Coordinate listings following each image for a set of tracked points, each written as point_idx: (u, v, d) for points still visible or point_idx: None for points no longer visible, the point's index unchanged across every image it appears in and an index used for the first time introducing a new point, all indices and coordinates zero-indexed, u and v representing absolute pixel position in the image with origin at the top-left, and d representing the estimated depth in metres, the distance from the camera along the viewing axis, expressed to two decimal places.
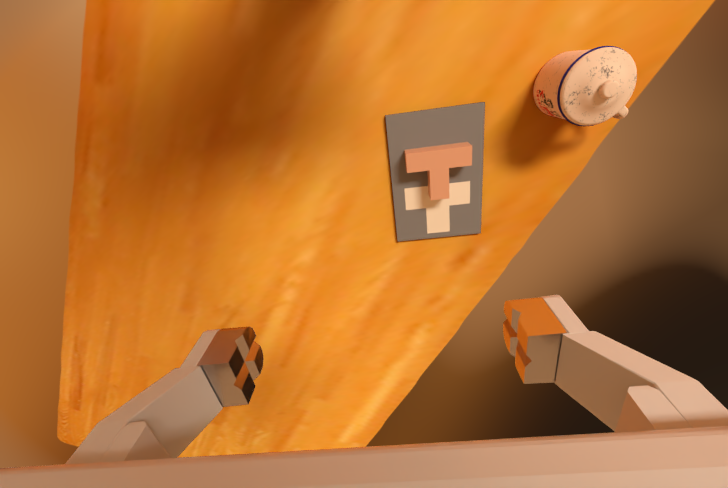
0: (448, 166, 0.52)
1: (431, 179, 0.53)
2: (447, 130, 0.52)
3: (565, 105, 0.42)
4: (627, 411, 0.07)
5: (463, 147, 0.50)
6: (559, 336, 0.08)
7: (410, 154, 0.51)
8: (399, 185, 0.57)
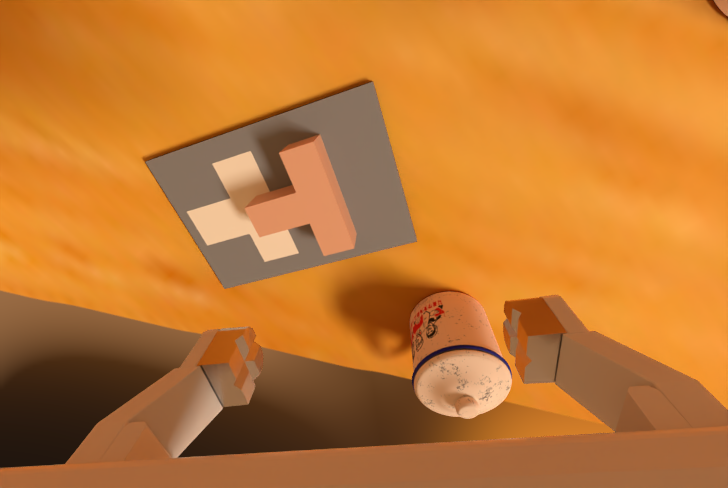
0: (312, 222, 0.29)
1: (281, 200, 0.29)
2: (367, 199, 0.31)
3: (438, 363, 0.29)
4: (627, 411, 0.07)
5: (348, 236, 0.30)
6: (559, 336, 0.08)
7: (314, 151, 0.26)
8: (252, 139, 0.29)
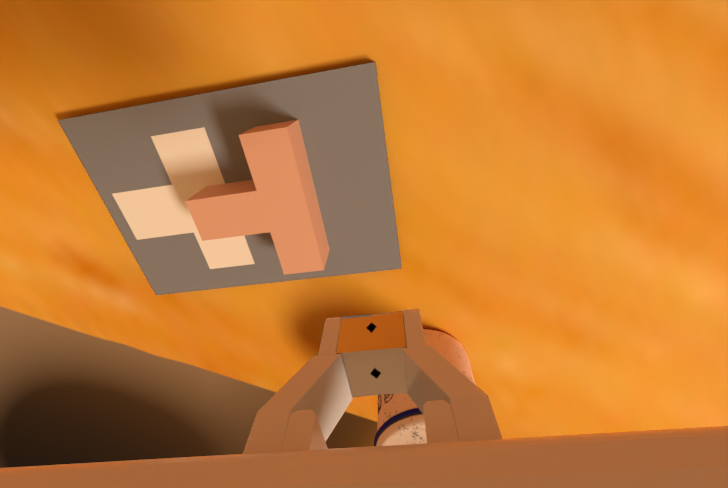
0: (273, 230, 0.23)
1: (236, 197, 0.22)
2: (347, 210, 0.25)
3: (410, 426, 0.23)
4: None
5: (318, 254, 0.24)
6: (400, 350, 0.09)
7: (287, 139, 0.20)
8: (208, 112, 0.22)
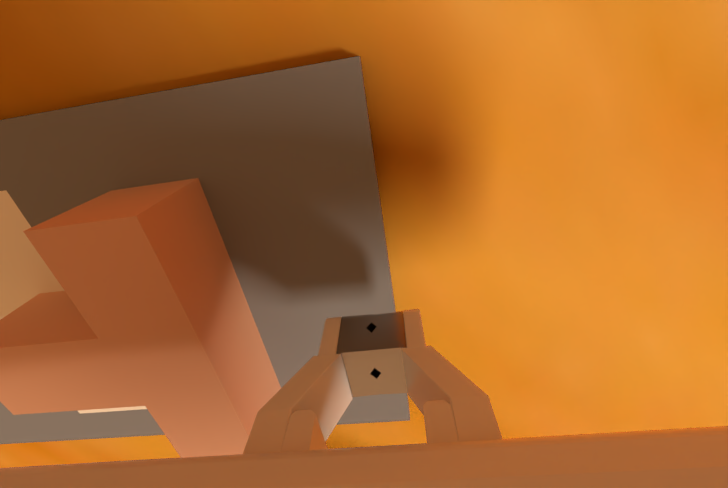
0: (151, 403, 0.11)
1: (57, 348, 0.10)
2: (311, 336, 0.13)
3: None
4: None
5: None
6: (400, 350, 0.09)
7: (144, 243, 0.08)
8: (6, 161, 0.10)
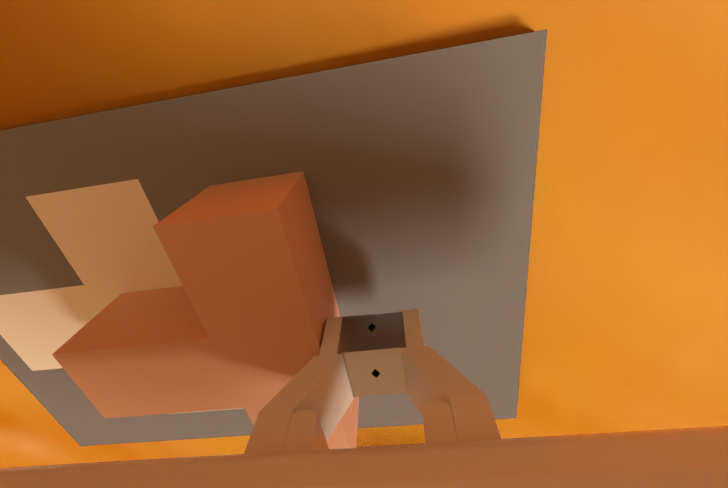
0: (251, 405, 0.11)
1: (164, 349, 0.10)
2: (431, 331, 0.13)
3: None
4: None
5: (345, 441, 0.11)
6: (399, 350, 0.09)
7: (278, 237, 0.08)
8: (144, 148, 0.10)
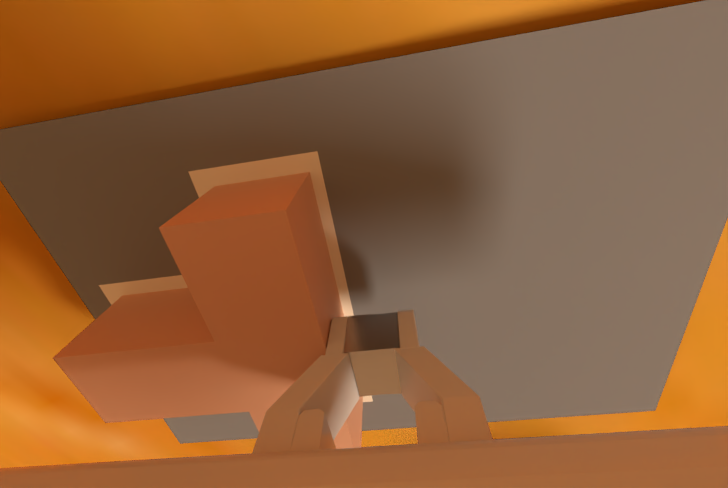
0: (256, 409, 0.10)
1: (168, 352, 0.09)
2: (591, 318, 0.12)
3: None
4: None
5: (350, 445, 0.11)
6: (393, 351, 0.09)
7: (287, 239, 0.08)
8: (333, 116, 0.09)
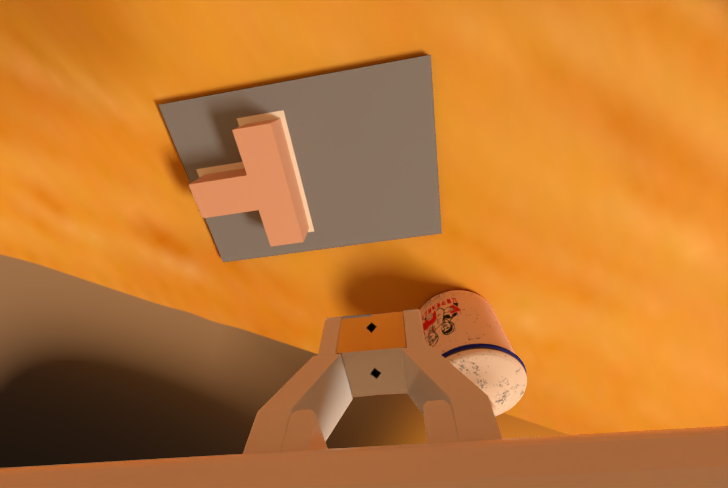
0: (261, 208, 0.28)
1: (230, 181, 0.27)
2: (399, 181, 0.30)
3: (458, 360, 0.28)
4: None
5: (298, 228, 0.29)
6: (400, 350, 0.09)
7: (271, 133, 0.25)
8: (288, 97, 0.27)
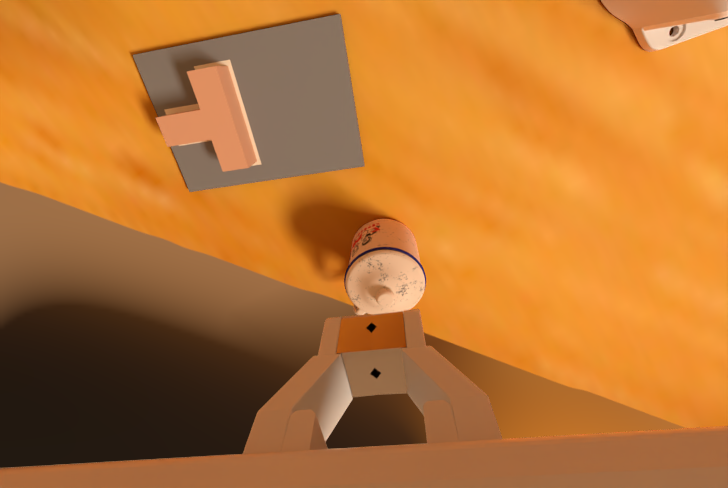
0: (213, 138, 0.35)
1: (187, 114, 0.34)
2: (325, 120, 0.37)
3: (366, 259, 0.35)
4: None
5: (243, 156, 0.36)
6: (400, 350, 0.09)
7: (216, 74, 0.32)
8: (233, 48, 0.34)
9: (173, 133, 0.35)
